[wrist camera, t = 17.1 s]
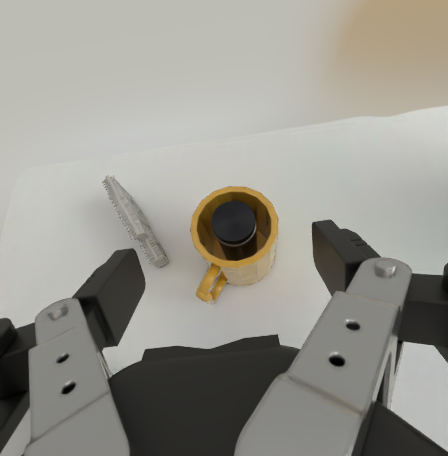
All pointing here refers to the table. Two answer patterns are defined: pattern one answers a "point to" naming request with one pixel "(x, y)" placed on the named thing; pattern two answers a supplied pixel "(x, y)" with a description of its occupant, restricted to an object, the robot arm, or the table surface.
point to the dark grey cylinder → (235, 230)
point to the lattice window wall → (135, 221)
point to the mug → (212, 252)
